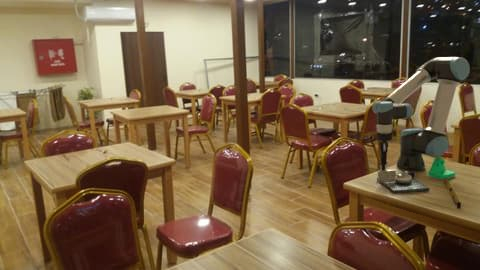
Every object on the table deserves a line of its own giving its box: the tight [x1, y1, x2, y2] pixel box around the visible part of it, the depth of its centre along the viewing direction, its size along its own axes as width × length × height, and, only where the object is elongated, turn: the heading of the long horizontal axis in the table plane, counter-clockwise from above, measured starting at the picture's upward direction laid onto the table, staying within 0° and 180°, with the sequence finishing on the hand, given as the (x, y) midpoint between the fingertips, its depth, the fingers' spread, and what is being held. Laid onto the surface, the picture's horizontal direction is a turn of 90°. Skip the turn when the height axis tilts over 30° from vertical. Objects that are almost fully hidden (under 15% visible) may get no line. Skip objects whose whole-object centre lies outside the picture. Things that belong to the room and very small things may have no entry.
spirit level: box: [443, 178, 462, 209], centre depth 185 cm, size 33×1×3 cm, turn 162°
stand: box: [376, 171, 431, 195], centre depth 199 cm, size 19×20×5 cm
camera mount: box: [427, 157, 456, 180], centre depth 209 cm, size 12×8×10 cm, turn 116°
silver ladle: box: [377, 169, 412, 184], centre depth 199 cm, size 17×8×6 cm, turn 93°
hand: (382, 175), depth 205 cm, fingers closed
